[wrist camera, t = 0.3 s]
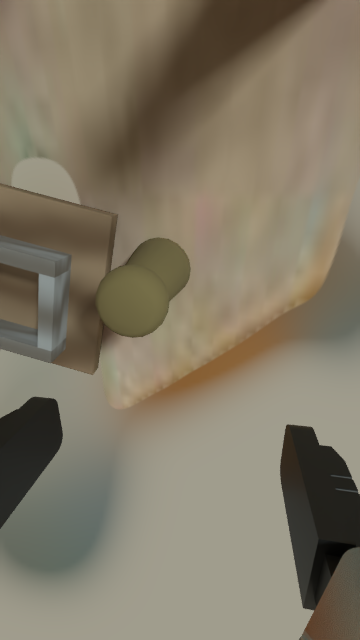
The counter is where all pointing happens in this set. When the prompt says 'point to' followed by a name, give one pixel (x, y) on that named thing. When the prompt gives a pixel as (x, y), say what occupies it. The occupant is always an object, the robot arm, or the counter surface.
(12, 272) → the holder board
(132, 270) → the olive knobbed cylinder
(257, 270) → the counter surface
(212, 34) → the counter surface
